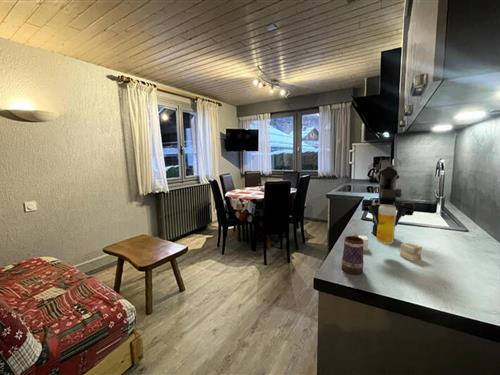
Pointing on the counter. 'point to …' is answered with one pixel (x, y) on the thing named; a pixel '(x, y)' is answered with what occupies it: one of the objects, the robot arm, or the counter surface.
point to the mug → (353, 255)
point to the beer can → (386, 224)
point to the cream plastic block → (364, 242)
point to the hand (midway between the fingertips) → (386, 224)
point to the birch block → (410, 251)
